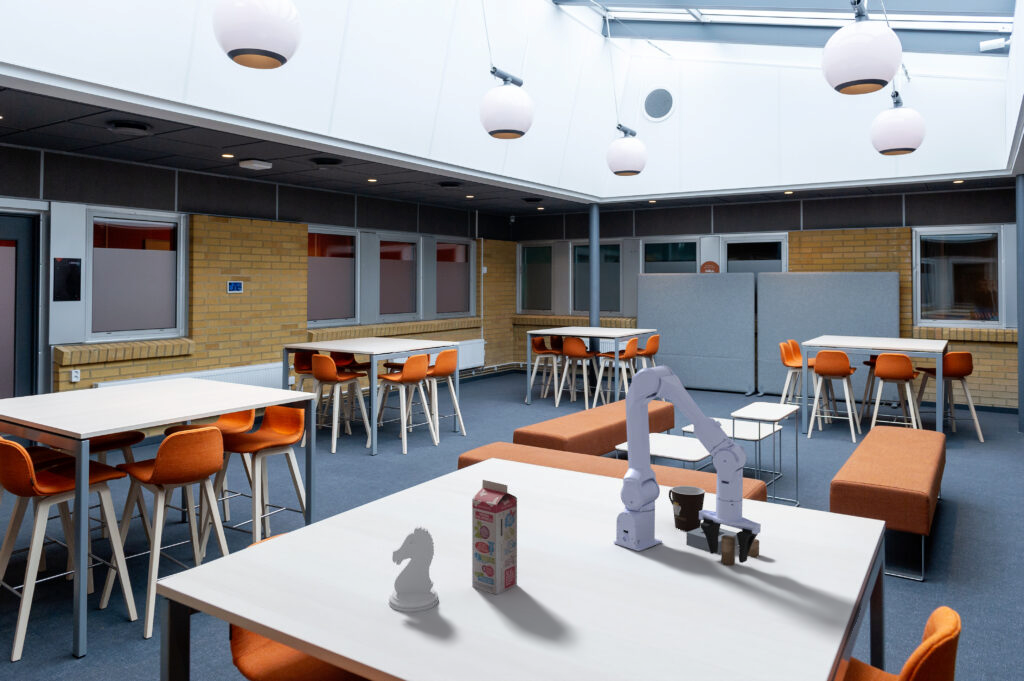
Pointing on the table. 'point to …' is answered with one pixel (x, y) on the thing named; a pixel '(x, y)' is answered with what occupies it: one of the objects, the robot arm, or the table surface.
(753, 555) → the short dowel
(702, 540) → the hole block
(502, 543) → the juice carton
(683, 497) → the coffee mug
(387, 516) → the table surface
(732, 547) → the long dowel
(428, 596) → the chess piece
